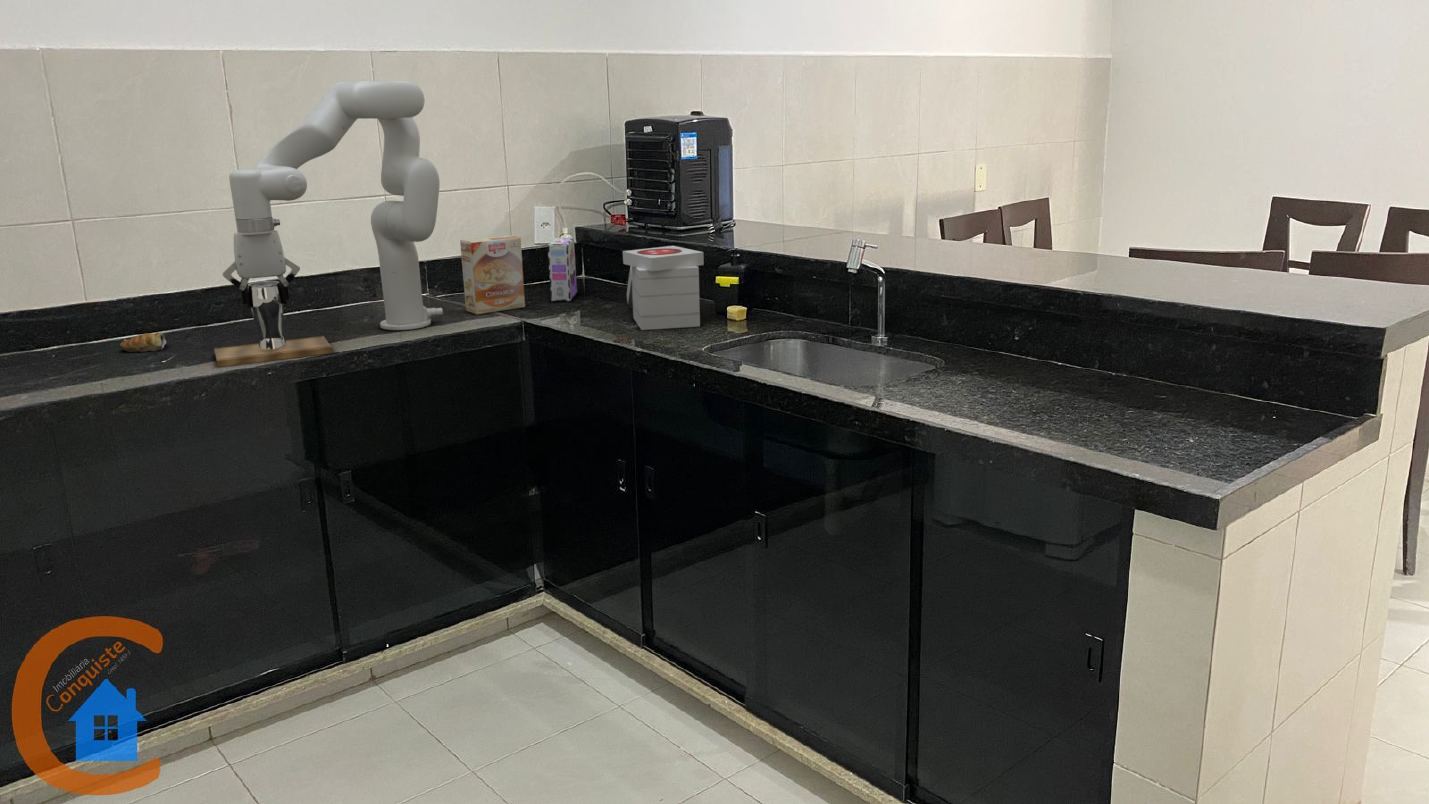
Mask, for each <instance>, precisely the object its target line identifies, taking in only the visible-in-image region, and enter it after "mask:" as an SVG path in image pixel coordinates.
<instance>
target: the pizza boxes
mask: <svg viewBox="0 0 1429 804" xmlns="http://www.w3.org/2000/svg"><path fill="white" fill-rule="evenodd" d="M622 264H623V265H626V266H630V268H629V272H628V281H627V287H626V301H627V305H628V306H629V305H632V315H633V318H632V319H633V320H634V321H635V323H636V325H637V326H638V328H639V329H640V331H648V330H665V329H681V328H695V327H701V311H700V309H701V308H700V269H699V266H704V264H705V261H704V251H699V250H696V249H695V250H694V249H690V248H685V247H681V246H677V245H666V246H658V247H650V248H639V249H632V250H631V249H630V250H622Z"/></svg>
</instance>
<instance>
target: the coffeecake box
mask: <svg viewBox="0 0 1429 804" xmlns="http://www.w3.org/2000/svg"><path fill="white" fill-rule="evenodd" d="M521 238H522V237H521V236H517V235H512V234H507V235H496V236H487V237H477V238H469V239H460V240H459V241H460V242H459V243H460V255H461V266H462V280H463V289H464V291H463V292H464V303H465V311H466V312H469V313H472V314H474V315H483V314H489V313H496V312H503V311H509V310H515V309H522V308H526V300H525V299H526V297H525V285H524V284H525V283H524V282H525V281H524V271H523V270H524V269H523V255H522V253H523V252H522V240H521Z"/></svg>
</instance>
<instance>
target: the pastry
mask: <svg viewBox="0 0 1429 804" xmlns="http://www.w3.org/2000/svg"><path fill="white" fill-rule="evenodd" d="M165 345H167V340H166V337H165V335H164V334H163V332H161V331H160V332H156V333H153V332H152V333H151V332H150V333H149V332H148V333H147V332H146V333H142V334H138V335H136V336H133V337H131V338H128V339H124V340H123V341H122V342H120V343H119V346H120V348H121V349H122V351H126V352H127V353H128V352H130V353H135V352H148V351H149V352H150V351H151V352H157V351H161V350H163V349H164V348H165Z"/></svg>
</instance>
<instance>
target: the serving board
mask: <svg viewBox="0 0 1429 804" xmlns="http://www.w3.org/2000/svg"><path fill="white" fill-rule="evenodd" d="M285 340H286V343H287V347H286V348H284V349H280V350H275V351H261V350H259V342H258V343H250V344H241V345H233V346H225V347H218V348H217V347H216V348H215V347H214V348H213V351H214V356H215V360H216V364H217V368H220V367H221V368H223V367H229V366H237V365H238V366H239V365H245V364H254V363H262V362H270V361H278V360H279V361H280V360H288V359H294V358H295V359H296V358H304V357H311V356H312V357H313V356H319V355H329V354H333V349H332V348H333V347H332V345H331V344H330V343H329V341H328V340H327V338H325V336H324V335H320V336H312V337H311V336H309V337H302V338H295V339H285Z"/></svg>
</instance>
